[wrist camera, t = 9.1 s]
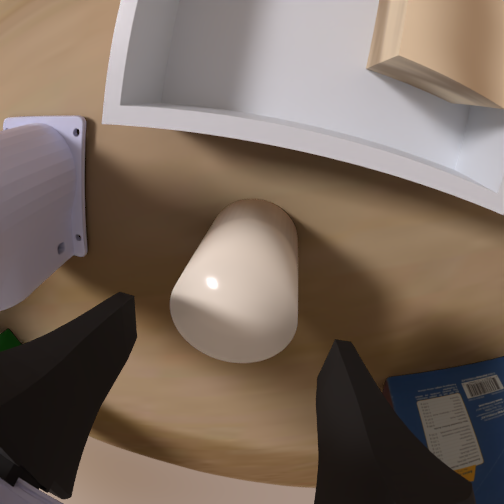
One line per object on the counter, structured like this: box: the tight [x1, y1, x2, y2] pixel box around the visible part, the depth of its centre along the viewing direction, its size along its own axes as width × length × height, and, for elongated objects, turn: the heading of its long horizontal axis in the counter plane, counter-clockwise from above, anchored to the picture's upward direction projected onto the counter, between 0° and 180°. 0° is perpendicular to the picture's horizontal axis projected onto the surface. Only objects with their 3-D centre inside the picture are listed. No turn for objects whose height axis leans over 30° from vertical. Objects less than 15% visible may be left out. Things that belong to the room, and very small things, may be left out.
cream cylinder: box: [170, 199, 298, 363], centre depth 15 cm, size 5×5×7 cm
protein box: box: [382, 356, 504, 504], centre depth 16 cm, size 10×15×16 cm
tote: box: [102, 0, 504, 215], centre depth 10 cm, size 18×14×5 cm
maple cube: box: [366, 0, 504, 109], centre depth 9 cm, size 5×5×5 cm
